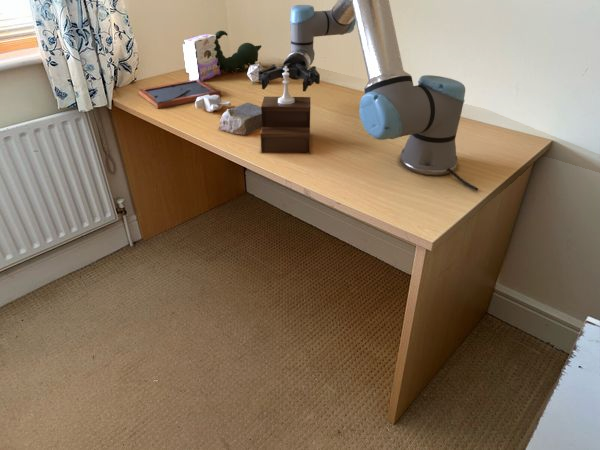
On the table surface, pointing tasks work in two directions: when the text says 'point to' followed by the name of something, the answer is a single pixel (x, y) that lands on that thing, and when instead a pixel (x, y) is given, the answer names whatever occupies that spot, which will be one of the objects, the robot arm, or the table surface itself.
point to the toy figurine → (236, 55)
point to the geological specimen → (242, 119)
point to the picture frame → (177, 93)
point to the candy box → (202, 57)
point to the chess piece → (286, 89)
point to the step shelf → (285, 126)
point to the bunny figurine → (210, 103)
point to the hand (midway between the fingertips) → (283, 85)
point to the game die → (254, 72)
